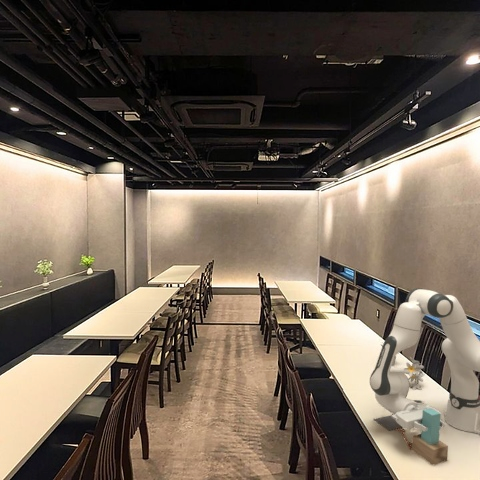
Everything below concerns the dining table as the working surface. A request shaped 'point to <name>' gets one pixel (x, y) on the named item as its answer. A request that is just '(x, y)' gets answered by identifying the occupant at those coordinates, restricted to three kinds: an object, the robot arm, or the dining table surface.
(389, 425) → the mat
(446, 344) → the robot arm
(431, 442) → the tall teal pillar
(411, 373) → the flower vase
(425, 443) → the block
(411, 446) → the key
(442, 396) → the dining table surface
